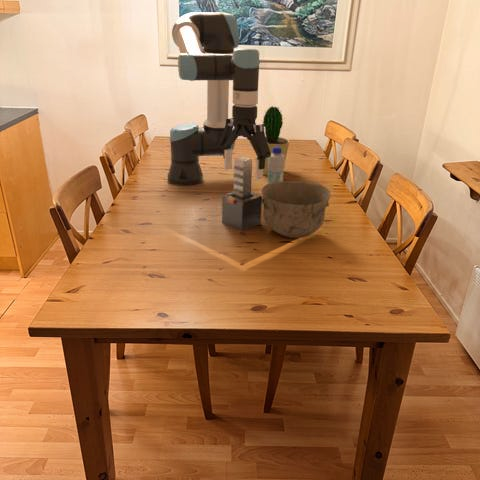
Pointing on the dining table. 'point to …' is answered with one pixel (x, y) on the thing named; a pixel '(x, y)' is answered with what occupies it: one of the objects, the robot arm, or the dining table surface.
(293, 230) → the bowl
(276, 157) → the bottle
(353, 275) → the dining table surface
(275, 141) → the potted cactus
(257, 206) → the stand base
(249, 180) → the column
